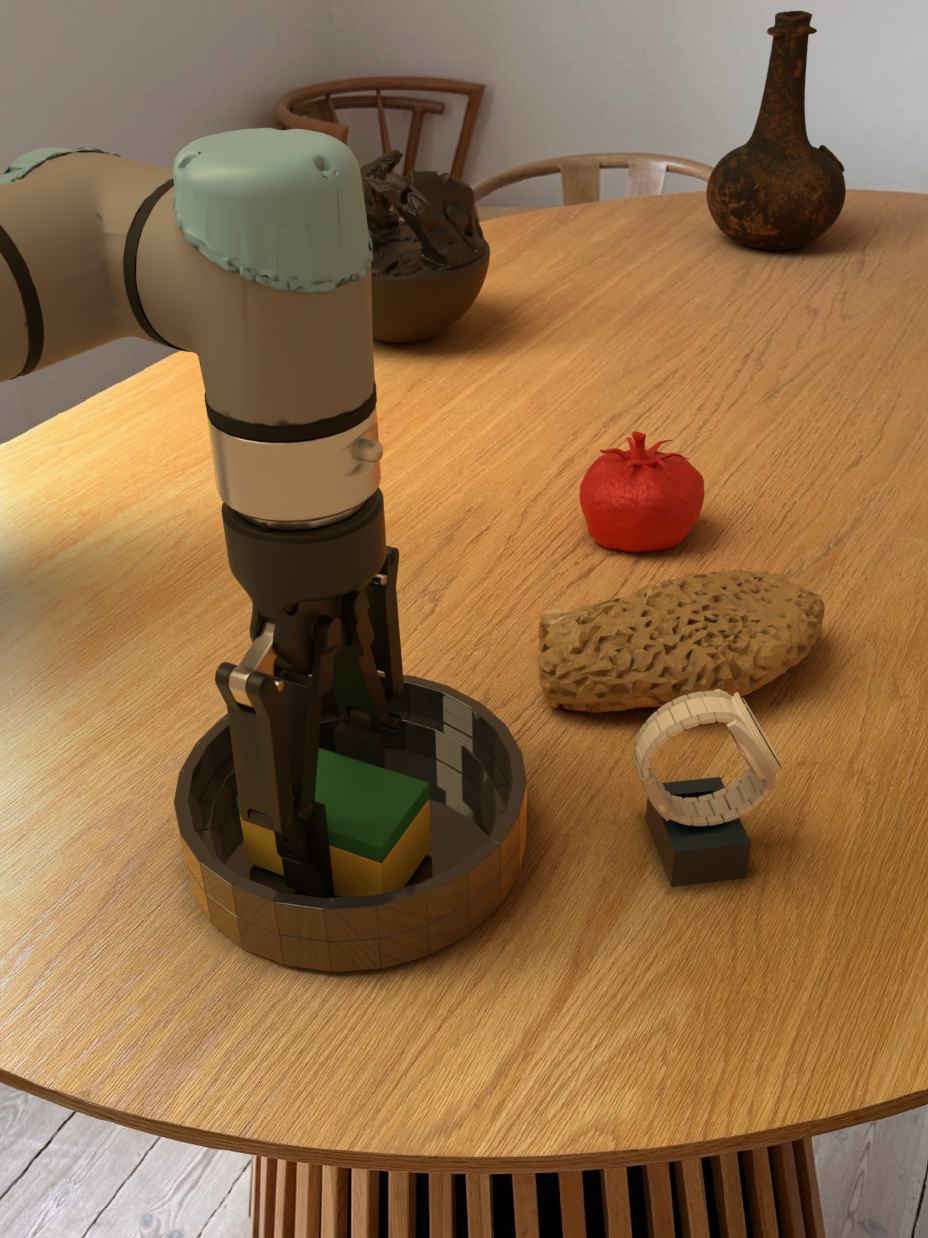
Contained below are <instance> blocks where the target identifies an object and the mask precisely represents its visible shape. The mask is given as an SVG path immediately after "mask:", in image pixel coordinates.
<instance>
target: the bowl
mask: <svg viewBox="0 0 928 1238" xmlns="http://www.w3.org/2000/svg"><path fill="white" fill-rule="evenodd" d="M377 672H378V675H381V676H385V673H384V672H382V671H377ZM403 680H404V690H403V694H402V697H401V698H400V700H399V701H397V702H395V701H392V700H390V702H389V704H388V708H389V711H392V712H395V713H399V714H401V723H400V726H399V728H398V730H397V731H396V732H395V733H392V732H389V731H386V730H383V738H384V741H383V742H384V752H385V756H384V760H385V769H387V770H390V771H393V772H396V773H400V774H403V775H406V776H409V777H412V778H415V779H419V780H422V781H425V782H428V783H429V807H430V828H431V849H430V850H429V852H428V853H427V854H426V856H425V857H424V859H423V860H422V862H421V863H420V865H419V866H418V867H417V869H416V870H415V872H414V873H413V875H412V876H411V878H410V879H409V880H408V882H407V883H406V885H405V886H404V888H400V889H396V890H392V891H388V892H385V893H381V894H377V895H370V896H354V897H340V896H337V895H334V894H332V896H331V897H330V898H319V897H315V896H312V895H309V894H307V893H304V892H301V891H299V890H296V889H293V888H290V887H288V886H285V879H284V876H283V875H280V874H277V873H274V872H272V871H269V870H266V869H263V868H261V867H258V866H255V865H252V864H250V863H248V862H247V856H246V850H245V844H244V838H243V832H242V826H241V820H240V814H239V810H238V804H237V797H238V790H237V782H236V775H235V767H234V759H233V751H232V743H231V735H230V727H229V719H228V713H226V714H224V715H223V716H222V717H221V718H219V719H218V721H216V722H215V724H214V725H212V726H211V727H210V728H209V729H208V730H207V731H206V732H205V733H204V734H203V735H202V736H201V737H200V738H199V739H198V740H197V741H196V742H195V744H194V745H193V747H192V749H191V750H190V752H189V754H188V756H187V758H186V759H185V761H184V762H183V765H182V766H181V768H180V770H179V771H178V776H177V780H176V781H177V782H176V787H175V793H174V797H173V809H174V814H175V817H176V823H177V827H178V834H179V838H180V842H181V847H182V853H183V858H184V862H185V867H186V871H187V877H188V881H189V886H190V891H191V894H192V896H193V898H194V899H195V901H196V902H197V904H198V905H199V907H200V909H201V910H202V912H203V913H204V914H205V916H206V918H207V919H208V921H209V922H210V923H211V925H212V926H214V927H215V928H216V929H217V930H219V931H220V932H221V933H223V934H224V935H225V936H227V937H228V938H229V939H230V940H231V941H233V942H234V943H235V944H237V945H238V946H239V947H240V948H242V949H244V950H246V951H249V952H251V953H254V954H255V955H258V956H261V957H263V958H266V959H268V960H270V961H273V962H275V963H278V964H281V965H284V966H288V967H294V968H295V967H297V968H302V969H310V970H316V971H324V972H330V973H332V972H333V973H334V972H335V973H336V972H348V971H349V972H351V971H352V972H353V971H365V970H379V969H385V968H389V967H392V966H397V965H400V964H403V963H404V964H405V963H407V962H411V961H414V960H419V959H421V958H426V957H428V956H430V955H433V954H434V953H436V952H438V951H440V950H441V949H443V948H445V947H447V946H449V945H451V944H453V943H454V942H456V941H459V940H460V939H462V938H464V937H466V936H468V935H469V934H470V933H472V932H473V931H475V929H476V928H477V927H478V926H479V925H481V924H482V923H483V922H484V921H485V920H486V919H487V918H488V917H490V915H492V914H493V913H494V912H496V910H497V909H498V908H500V906H501V905H502V903H503V901H504V900H505V898H506V897H507V895H508V893H509V892H510V890H511V889H512V888H513V885H514V884H515V881H516V880H517V879H518V877H519V875H520V872H521V868H522V863H523V858H524V855H525V849H526V845H527V823H528V822H527V821H528V820H527V817H528V816H527V815H528V811H527V810H528V778H527V771H526V767H525V760H524V754H523V751H522V749H521V748H520V746H519V744H518V743H517V740H516V739H515V738H514V736H513V734H512V733H511V731H510V729H509V728H508V725H507V724H506V723H505V722H503V721H502V720H501V719H500V718H499V716H497V715H496V714H495V713H493V712H492V710H490V709H489V708H488V707H487V706H486V705H485V704H483V702H482V703H481V701H478V700H476V699H475V698H474V697H473V698H472V697H471V696H469V695H467V694H465V693H464V692H462V691H459V690H457V689H456V688H454V687H452V686H450V685H448V684H444V683H440V682H436V681H434V680H430V679H426V678H423V677H420V676H416V675H409V674H403ZM340 722H343V723H346V724H350V719H347V718H343V716H342V714H341V711H340V708H339V705H338V702H337V700H336V697H335V694H334V691H333V688H332V689H331V691H330V693H329V694H327V695H325V696H324V697H323V698H322V708H321V722H320V735H319V748H320V749H324V750H327V751H330V752H333V753H336V744H335V734H334V729H335V728H336V727H337V726H338V725H339V723H340Z"/></svg>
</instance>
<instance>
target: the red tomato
mask: <svg viewBox="0 0 928 1238" xmlns="http://www.w3.org/2000/svg"><path fill="white" fill-rule="evenodd" d="M646 438H647V434H646V433H643V432H640V431H632V433H631V437H626V442H627V443H628V446H629V449H628V450H622V449H620V448H618V447H613V448H608V449H599V452H600V453H601V454H603V455H601V456H599V457H598V458H597V459H595V460H594V462H593V463H592V464H591V465H590V466H589V467H588V469H587V470H586V471H585V474H584V476H583V478H582V480H581V483H580V486H579V492H578V493H579V505H580V508H581V512H582V515H583V517H584V518H585V522H586V525H587V530H588V533H589V535H590V536H591V537H592V538H593V540H594V541H595V542H596V544H598V545H600V546H601V547H603V548H605V549H608V550H612V551H621V552H631V553H644V552H653V551H654V552H657V551H658V552H659V551H664V550H668V549H670V548H673V547H675V546H677V545H679V544H680V543H681V542H682V541H683V540H685V538H686V537H687V536H688V535H689V533H690V531H692V529H693V528H694V526H695V524H696V523H697V521H698V519H699V517H700V515H701V512H702V509H703V505H704V501H705V480H704V477H703V475H702V473H701V472H700V471H699V470H697V469H696V468H695V466H694V465H693V464H692V463H691V462H690V461H689V460H690V458H688V457H685V456H683V455H682V454H680V453H676V452H662V451H658V450H659V449H660V447H661V446H662V445H663V444H666V443H668V442H673V439H663V440H660V441H658V442H656V443H655V444H653V445H651V446H650V447H649V448H648V449H646Z"/></svg>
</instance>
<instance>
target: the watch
mask: <svg viewBox="0 0 928 1238" xmlns="http://www.w3.org/2000/svg"><path fill="white" fill-rule="evenodd" d="M672 703H673V704H672ZM673 705H674V706H673ZM686 705H687V706H686ZM716 722H717V723H724V725H725V727H726V730H727V731H728V733H729V735H730V736H731V738H732V740H733V742H734V743H735V745H736V747H737V749H738V751H739V753H740V755H741V756H742V758H743V759H744V761H745V763H746V764H747V766H748V768H746V769H745V770H744V771H743V773H741V775H740V776H739V778H737V779H735V780H734V781H732V782H731V783H730V784H728V785H727V787H726V786H725V784H724V782H723V780H722V778H721V776H715V777H706V778H705V777H704V778H696V779H685V780H677V781H667V782H661V781H660V780H659V778H658V777H657V776H656V775H655V773H654V765H653V763H652V759H653V758H654V757H655V755H656V754H657V752H658V751H659V748H660V747H662V746H664V744H666V743H667V742H668V741H669V740H670V738H674V737H675V736H677V735H679V734H681V733H683V732H684V730H689V729H691V728H695V727H698V726H699V725H706V724H715V723H716ZM631 757H632V760H633V763H634V766H635V769H636V771H637V775H638V777H639V779H640V781H641V784H642V787H643V790H644V792H645V794H646V809H645V815H644V817H645V818H644V819H645V823H646V825H647V827H648V831H649V834H650V836H651V838H652V841H653V843H654V846H655V849H656V851H657V854H658V857H659V859H660V862H661V865H662V867H663V870H664V873H665V876H666V879H667V880H668V883H669V887H670V888H675V887H685V886H692V885H700V884H701V885H702V884H710V883H718V882H725V881H726V882H727V881H735V880H736V881H737V880H743V879H746V876H747V870H748V864H749V859H750V854H751V853H750V852H751V846H752V842H751V840H750V838H749V836H748V833H747V831H746V829H745V827H744V825H743V822H742V821H741V818H740V816H744V815H746V814H747V813H749V812H751V811H752V810H753V809H754V808H755V807H757V806H758V805H760V803H762V801H764V800H765V798H766V797H767V795H768V794H770V792H771V791H772V790H774V789H776V788H777V787H776V786H777V775H776V774H781V773H783V772H784V771H783V767H782V765H781V761H780V759H779V758H778V755H777V753H776V751H775V750H774V748H773V746H772V744H771V742H770V740H769V739H768V737H767V735H766V734H765V732H764V730H763V728H762V726H761V725H760V722H759V721H758V719H757V718H756V716H755V715H754V713H753V711H752V709H751V707H750V706H749V704H748V703H747V701H746V700H745V698H744V697H743V696H741V695H740V694H739V693H738V692H737V693H735V694H734V696H733V697H732V696H731V695H729V694H728V693H727V692H725V691H722V690H720V689H716V690H714V691H705V692H703V691H701V692H695V693H691V694H688V696H687V695H683V696H681V697H678V698H676V699H674V700H672V702H668V703H666V704H665V705H663V706H660V707H659V708H658V709H657V710H655V712H653V713H652V714H651V715H650V716H649V717H648V718H647V719H646V721H645V722H644V723H643V724H642V726H641V728H640V729H639V731H638V733H637V735H636V737H635V740H634V747H633V753H632V754H631Z"/></svg>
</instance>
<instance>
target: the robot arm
mask: <svg viewBox="0 0 928 1238" xmlns="http://www.w3.org/2000/svg"><path fill="white" fill-rule="evenodd" d="M360 169H361V168H360V165H359V161H358V160H357V157H356V155H355V153H354V152H353V151H352V150H351V149H350V147H349V146H348V145H346V144H345V143H344V142H343V141H341V140H340V139H339V138H336V137H334V136H333V135H330V134H327V133H323V132H320V131H315V130H310V129H302V128H291V129H290V128H289V129H276V128H272V127H256V128H243V129H236V130H229V131H222V132H218V133H214V134H210V135H205V136H203V137H200V138H197V139H195V140H193V141H191V142H189V143H188V144H187V145H185V146H184V147H183V148H182V149H180V151H179V152H178V153H177V154H176V156H175V158H174V161H173V166H172V168H171V167H167V166H163V165H158V164H154V163H150V162H145V161H141V160H137V159H131V158H129V157H123V156H122V155H120V154H118V153H117V152H113V151H106V152H105V151H103V150H102V149H100V148H97V147H81V146H79V147H78V148H68V147H59V146H58V147H57V146H56V147H55V146H53V147H52V146H51V147H41V148H37V149H34V150H31V151H29V152H25V153H24V154H22V155H20V156H19V157H17V158H16V159H15V160H14V161H13V162H12V163H11V164H10V165H9V166H8V168H7V169H5V171H4V172H3V174H1V175H0V383H3V382H5V381H13V380H15V379H17V378H19V377H25V376H27V375H30V374H32V373H35V372H38V371H40V370H42V369H43V370H44V369H46V368H48V367H51V366H53V365H56V364H58V363H61V362H63V361H66V360H69V359H71V358H73V357H77V356H79V355H81V354H83V353H86V352H88V351H91V350H94V349H96V348H98V347H102V346H104V345H106V344H109V343H111V342H113V341H116V340H120V339H124V338H138V339H141V340H144V341H148V342H151V343H154V344H157V345H160V346H161V345H162V346H164V347H168V348H170V349H174V350H178V351H180V352H186V353H193V354H196V355H197V357H198V362H199V368H200V372H201V375H202V376H201V377H202V382H203V388H204V404H205V410H206V411H205V412H206V417H207V418H206V419H207V424H208V425H207V426H208V434H209V439H210V447H211V456H212V464H213V471H214V479H215V486H216V491H217V492H218V495H219V497H220V500H221V501H222V504H221V518H222V519H221V520H222V525H223V532H224V539H225V547H226V553H227V559H228V566H229V569H230V572H231V574H232V576H233V577H234V578H235V580H236V581H237V582H238V584H239V585H240V586H241V587H242V589H243V590H244V591H245V592H246V594H247V595H248V597H249V599H250V601H251V603H252V610H251V618H250V622H249V623H250V624H249V637H250V640H251V643H252V644H251V646H250V647H249V648H248V649H247V652H246V653H245V654H244V656H243V658H242V659H241V660H240V662H239V663H238V664H236V663H232V662H229V661H223V662H221V663H220V664H219V665H218V667H217V669H216V671H215V675H214V682H215V685H216V687H217V690H218V691H219V693H220V695H221V697H222V699H223V701H224V703H225V705H226V712H227V714H228V719H229V727H230V735H231V743H232V751H233V759H234V767H235V775H236V782H237V790H238V798H239V806H240V814H241V818H242V820H244V821H246V822H249V823H252V824H255V825H258V826H260V827H263V828H266V829H269V830H272V831H274V835H275V839H276V840H275V842H276V849H277V854H278V855H279V856H280V857H281V858H282V865H283V872H284V879H285V886H288V887H290V888H293V889H296V890H299V891H301V892H304V893H307V894H309V895H312V896H315V897H319V898H330V897H331V896H332V894H333V893H334V885H333V876H332V867H331V857H330V848H329V839H328V827H327V818H326V809H325V804H322V803H319V802H316V801H315V791H316V777H317V763H318V749H319V735H320V722H321V708H322V698H323V697H324V696H325V695H327V694H329V693H330V691H331V689H332V688H333V691H334V694H335V697H336V700H337V702H338V705H339V708H340V711H341V714H342V716H343V718H347V719H350V724H346V723H343V722H340V723H339V725H338V726H337V727H336V728H335V729H334V734H335V744H336V754H339V755H342V756H345V757H349V758H352V759H355V760H358V761H361V762H364V763H368V764H371V765H374V766H377V767H381V768H384V769H385V760H384V756H385V752H384V742H383V741H384V738H383V730H386V731H389V732H392V733H395V732H396V731H397V730H398V728H399V726H400V723H401V714H399V713H395V712H392V711H389V708H388V704H389V702H390V700H392V701H395V702H397V701H399V700H400V698H401V697H402V694H403V690H404V680H403V675H404V670H403V658H402V657H403V656H402V655H403V654H402V645H401V632H400V618H399V605H398V593H397V582H398V573H399V563H400V562H399V561H400V551H399V548H398V547H395V546H390V545H387V532H386V531H387V530H386V517H385V516H386V515H385V499H384V494H383V491H382V489H381V488H380V487H379V486H380V484H381V481H382V468H381V467H382V466H381V459H382V458H383V456H384V447H383V444H382V443H381V442H380V440H379V439H380V438H379V437H380V436H379V421H378V412H377V402H378V397H377V396H378V395H377V383H376V379H375V378H376V377H375V356H374V339H373V331H372V282H371V262H372V260H373V254H372V247H373V245H372V241H371V238H370V237H369V233H368V225H367V218H366V210H365V202H364V195H363V187H362V180H361V172H360ZM378 672H381V673H385V676H381V675H378Z"/></svg>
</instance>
